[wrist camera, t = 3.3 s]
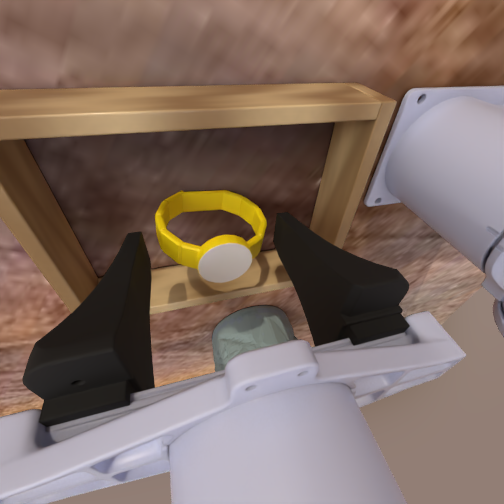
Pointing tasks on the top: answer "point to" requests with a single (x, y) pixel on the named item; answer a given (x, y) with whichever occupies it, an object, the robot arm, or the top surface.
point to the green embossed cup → (249, 332)
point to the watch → (218, 248)
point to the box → (177, 119)
